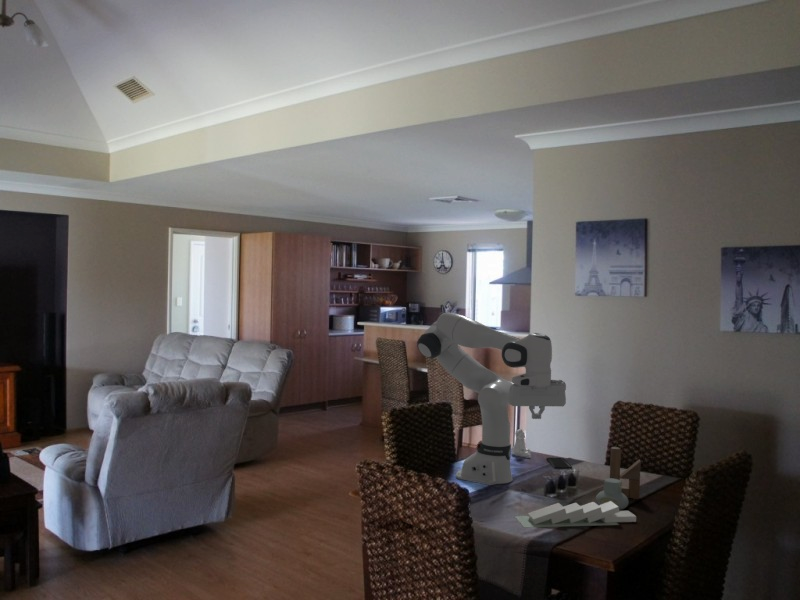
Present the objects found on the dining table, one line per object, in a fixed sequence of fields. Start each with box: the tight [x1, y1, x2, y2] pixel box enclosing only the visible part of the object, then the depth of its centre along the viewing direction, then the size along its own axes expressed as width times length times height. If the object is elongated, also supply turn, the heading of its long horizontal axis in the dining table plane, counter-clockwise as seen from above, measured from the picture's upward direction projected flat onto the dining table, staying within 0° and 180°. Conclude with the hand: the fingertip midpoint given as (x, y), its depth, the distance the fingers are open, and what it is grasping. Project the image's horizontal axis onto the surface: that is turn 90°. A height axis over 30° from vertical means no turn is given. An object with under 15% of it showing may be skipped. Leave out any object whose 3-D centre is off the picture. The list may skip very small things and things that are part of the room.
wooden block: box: [609, 446, 642, 500], centre depth 253 cm, size 4×11×18 cm, turn 76°
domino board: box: [514, 515, 620, 529], centre depth 224 cm, size 32×10×1 cm, turn 98°
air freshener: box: [595, 477, 629, 511], centre depth 240 cm, size 11×8×10 cm
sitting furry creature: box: [511, 428, 532, 459], centre depth 310 cm, size 10×9×12 cm
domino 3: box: [567, 501, 602, 523], centre depth 224 cm, size 2×6×11 cm
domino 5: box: [601, 510, 637, 523], centre depth 226 cm, size 2×6×11 cm
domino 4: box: [585, 501, 621, 523], centre depth 225 cm, size 2×6×11 cm
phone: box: [546, 457, 573, 470], centre depth 297 cm, size 8×1×15 cm
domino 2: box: [549, 502, 584, 524], centre depth 223 cm, size 2×6×11 cm
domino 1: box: [527, 502, 566, 524], centre depth 222 cm, size 2×6×11 cm
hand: (536, 418), depth 240 cm, fingers closed
